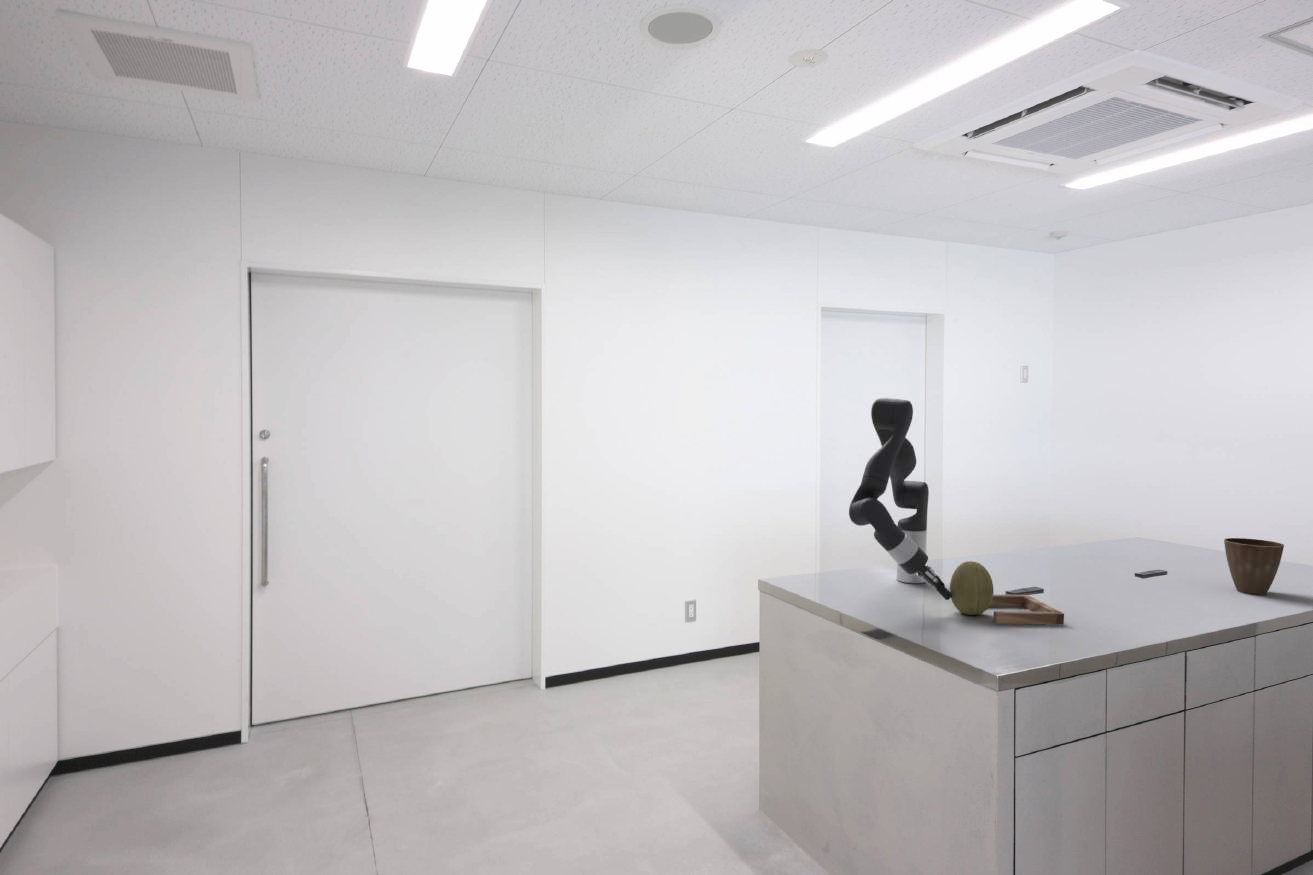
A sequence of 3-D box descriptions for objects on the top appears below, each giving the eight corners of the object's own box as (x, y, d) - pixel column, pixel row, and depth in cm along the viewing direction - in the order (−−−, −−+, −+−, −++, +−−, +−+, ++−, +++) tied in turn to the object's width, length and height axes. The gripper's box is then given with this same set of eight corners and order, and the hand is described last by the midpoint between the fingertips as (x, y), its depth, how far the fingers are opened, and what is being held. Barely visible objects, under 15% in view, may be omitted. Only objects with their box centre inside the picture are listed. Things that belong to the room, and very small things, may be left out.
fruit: (980, 608, 220) (981, 556, 219) (1000, 619, 209) (1002, 565, 208) (942, 608, 219) (943, 557, 218) (960, 620, 208) (961, 565, 207)
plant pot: (1219, 584, 250) (1221, 536, 250) (1277, 590, 243) (1279, 540, 242) (1225, 594, 238) (1227, 543, 237) (1286, 600, 230) (1288, 548, 229)
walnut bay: (966, 604, 224) (966, 594, 224) (1027, 604, 224) (1027, 594, 224) (996, 624, 204) (997, 613, 204) (1063, 624, 204) (1064, 613, 204)
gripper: (924, 548, 206) (968, 594, 207) (908, 540, 219) (950, 582, 220) (904, 567, 206) (948, 613, 207) (889, 558, 220) (931, 600, 220)
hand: (949, 597), depth 213 cm, fingers closed
